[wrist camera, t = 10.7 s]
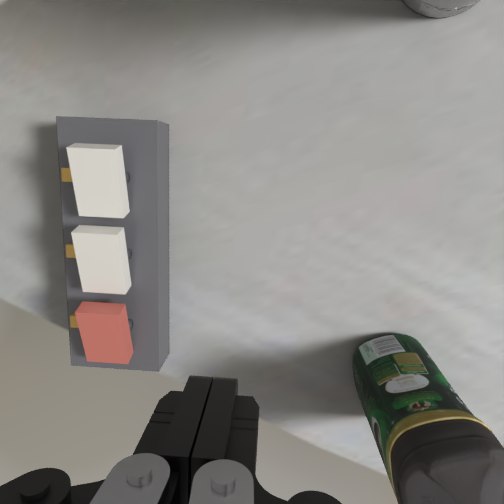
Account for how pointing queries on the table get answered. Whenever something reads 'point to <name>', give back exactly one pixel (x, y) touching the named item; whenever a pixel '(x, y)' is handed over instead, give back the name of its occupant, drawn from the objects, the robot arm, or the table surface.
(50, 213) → the table surface
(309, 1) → the table surface
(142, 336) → the switch panel
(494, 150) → the table surface
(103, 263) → the block
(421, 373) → the coffee jar
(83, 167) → the rocker
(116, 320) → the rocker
